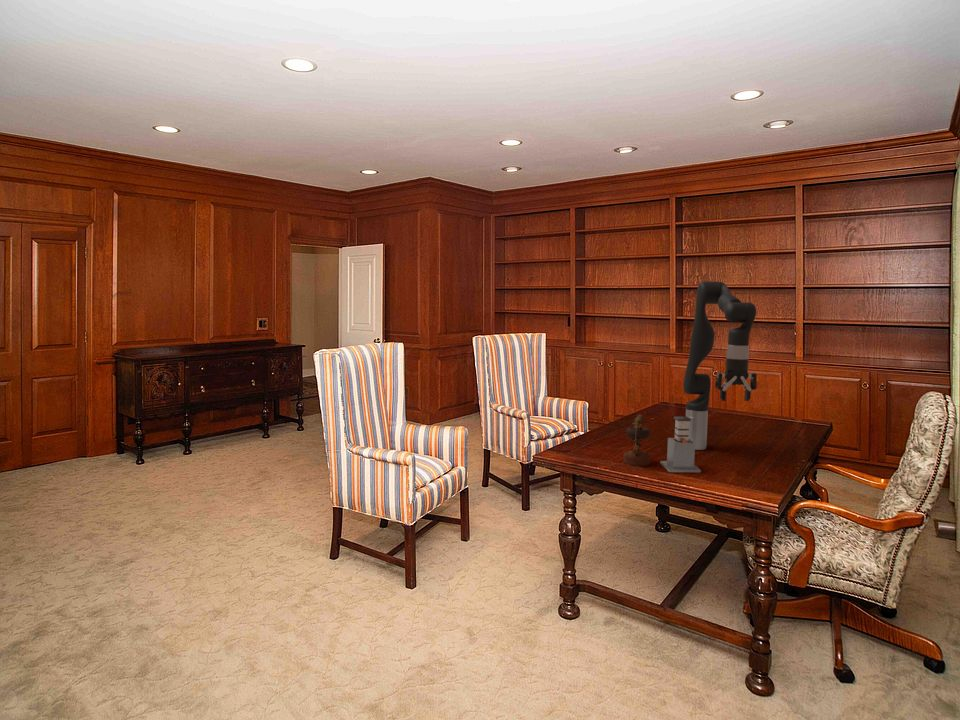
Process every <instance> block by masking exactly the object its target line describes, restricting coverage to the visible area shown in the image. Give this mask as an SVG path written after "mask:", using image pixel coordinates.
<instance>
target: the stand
mask: <svg viewBox="0 0 960 720" xmlns="http://www.w3.org/2000/svg"><path fill="white" fill-rule="evenodd" d="M674 439H675V437H667V447H666V448H667V454H666V460H660V465H661V466H662V467H664V469H666V470H667V472H669V473H699V474H700V473H701V472H702V470H701V469H700V468H699V466H697V465H696V464H695V457H696V456H695V455H696V454H695V453H696V452H695V451H696V450H695V443H694V442H693V441H691V440H690V439H689V438H688V442H687V440H686V439H682V440H681V442H676V441H675V440H674Z"/></svg>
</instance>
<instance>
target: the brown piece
mask: <svg viewBox="0 0 960 720" xmlns="http://www.w3.org/2000/svg"><path fill="white" fill-rule="evenodd" d="M643 422H644V416H643V415H642V414H638V415H637V416H636V417H635V418H634V419H633V420H632V423H631V425H633V426H629V427H627V428H626V430H625V434H626V436H627V437H628V438H630V439H632V441H633V449H632V450H627V451H625V452H623V463H624V464H627V465H629V466H635V467H645V466H649V465H651V454H650V453H648V451H647V452H646V451H643V450H640V449H641V448H642V445H643V444H642V443H641V441H642V440H647V439H648V438H649V437H650V435H651V431H650V429H649V428H648V427H645V426H643Z"/></svg>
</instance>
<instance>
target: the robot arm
mask: <svg viewBox="0 0 960 720" xmlns="http://www.w3.org/2000/svg"><path fill="white" fill-rule="evenodd" d="M706 305H717V306H718V308H719V309H720V311H722V312H723V313H724V318H725V320H726V321H727V322H731V323H734V322H735V323H741V325H740V326H739V327H734V328H731V329H729V331H728V334H727V336H728V337H727V338H728V339H727V348H726V357H725V372H724V373H723V372H722V373H721V372H716V377H715V386H714V388H715V389H717V390H719V392H720V394H719V399H720V400H721V401H722V402H726V401H727V399H726V398H727V390H728V388H729V387H731V385H732V386H735V385H736V386H737V385H738V386H742V387H743V388H744V389H745V390H744V395H743V396H744V397H743V398H744V399H743V400H744V401H745V402H749V401H751V397H752V396H751V394H752V393H751V392H752V391H754V390H755V391H756V389H757V387H758V386H757V384H758V383H757V382H758V381H757V375H758V374H757V373H756V372H755V373H754V372H750V373H749V372H748V371H749V359H750V358H749V357H750V348H749V347H750V346H749V345H750V334H751V330H752V327H753V323H754V321H755V319H756V316H757V308H756V305H755V304H754V303H752V302H743V301H741V300H740V299H739V298H738V297H736V296H735V295H733V293H732V292H731V290H730V289H729V287H728V286H727V284H726V283H724V282H722V281H714V280H713V281H712V280H711V281H703V280H702V281H700V282H699V283H698V286H697V289H696V300H695V311H694V312H695V313H694V320H693V327H692V331H691V337H690V344H689V345H690V346H689V352H688V360H687V365H686V368H685V373H684V378H683V383H682V384H683V388H682V389H683V391H684V393H685V394H687V395H698V396H697V397H695V399H693V400H689V401H688V402H686V405H685V417H688V418H690V419H691V421H689V434H688V435H689V436H688V438H689V439H690V440H691V441H693V442H694V443H695V451H697V450H698V451H699V450H700V451H701V450H702V451H703V450H707V441H708V440H707V437H708V422H709V421H708V417H709V415H708V414H709V405H710V396H711V395H710V393H711V386H712V384H711V383H712V382H711V377H710V375H709V374H707V373H697V370H698V368H699V366H700V365H701V363H703V361H704V360H705V359H706V357H708V356H709V355H710V353H711V352H712V351H713V348H714V342H715V339H716V338H715V337H716V336H715V335H716V333H715V330H714V327H713V326H712V324H711V322H710V320H709V318H708V315H707V313H706V312H707V311H706V307H707V306H706ZM724 378H725V380H724V381H723V379H724ZM747 379H749V383H748V381H747ZM749 384H750V385H749Z"/></svg>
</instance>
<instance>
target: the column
mask: <svg viewBox="0 0 960 720" xmlns="http://www.w3.org/2000/svg"><path fill="white" fill-rule="evenodd" d="M673 419H674V420H675V422H674V423H675V424H674V438H675V439H674V440H675V441H676V442H681V440H682V439H686V440H687V442H688V436H689V435H688V434H689V421H691V419H690V418H688V417H686V416H673Z"/></svg>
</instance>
